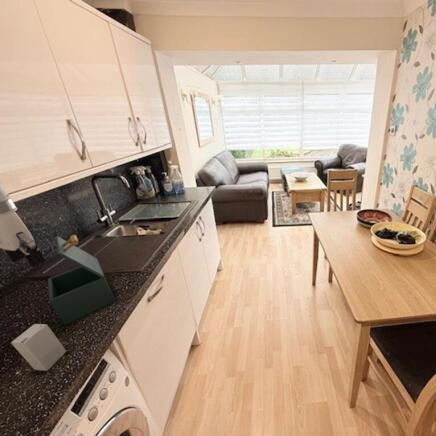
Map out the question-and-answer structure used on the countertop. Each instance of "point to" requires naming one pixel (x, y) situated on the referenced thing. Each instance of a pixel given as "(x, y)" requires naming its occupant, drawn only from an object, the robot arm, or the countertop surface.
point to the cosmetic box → (39, 347)
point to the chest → (78, 293)
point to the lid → (77, 255)
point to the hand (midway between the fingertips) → (29, 261)
